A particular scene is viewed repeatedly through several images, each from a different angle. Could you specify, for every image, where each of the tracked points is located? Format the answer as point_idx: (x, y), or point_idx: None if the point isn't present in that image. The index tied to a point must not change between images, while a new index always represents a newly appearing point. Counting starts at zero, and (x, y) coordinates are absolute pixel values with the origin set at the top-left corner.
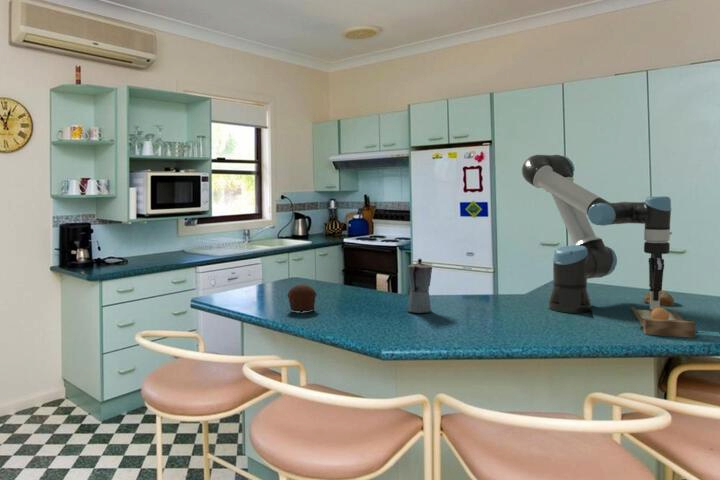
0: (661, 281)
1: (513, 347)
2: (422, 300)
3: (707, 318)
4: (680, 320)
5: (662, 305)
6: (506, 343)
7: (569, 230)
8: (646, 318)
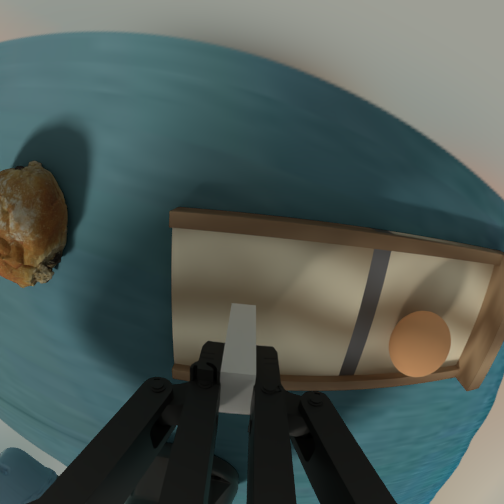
0: (360, 454)
1: (447, 477)
2: None
3: (223, 68)
4: (407, 252)
5: (62, 224)
6: (431, 486)
7: None
8: (338, 358)
